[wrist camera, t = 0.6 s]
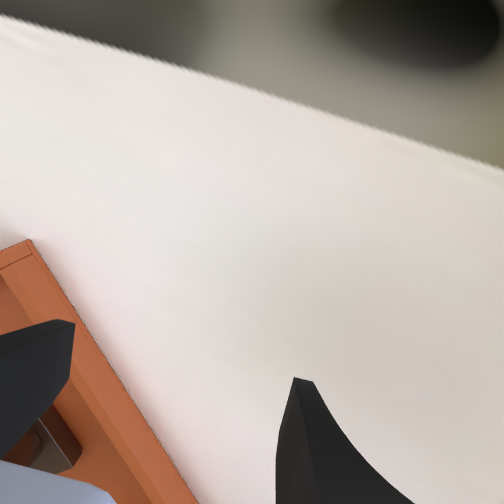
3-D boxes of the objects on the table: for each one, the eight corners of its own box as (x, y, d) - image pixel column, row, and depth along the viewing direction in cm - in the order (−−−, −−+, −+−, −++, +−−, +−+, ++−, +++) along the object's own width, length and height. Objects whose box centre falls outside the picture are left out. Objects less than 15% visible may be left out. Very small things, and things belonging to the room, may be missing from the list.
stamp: (85, 449, 27) (25, 539, 21) (33, 471, 28) (-39, 564, 22) (34, 373, 26) (-45, 446, 20) (-19, 398, 27) (-109, 475, 21)
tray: (204, 512, 28) (195, 548, 26) (34, 574, 31) (12, 611, 29) (29, 238, 25) (0, 250, 22) (-146, 336, 28) (-188, 355, 25)
